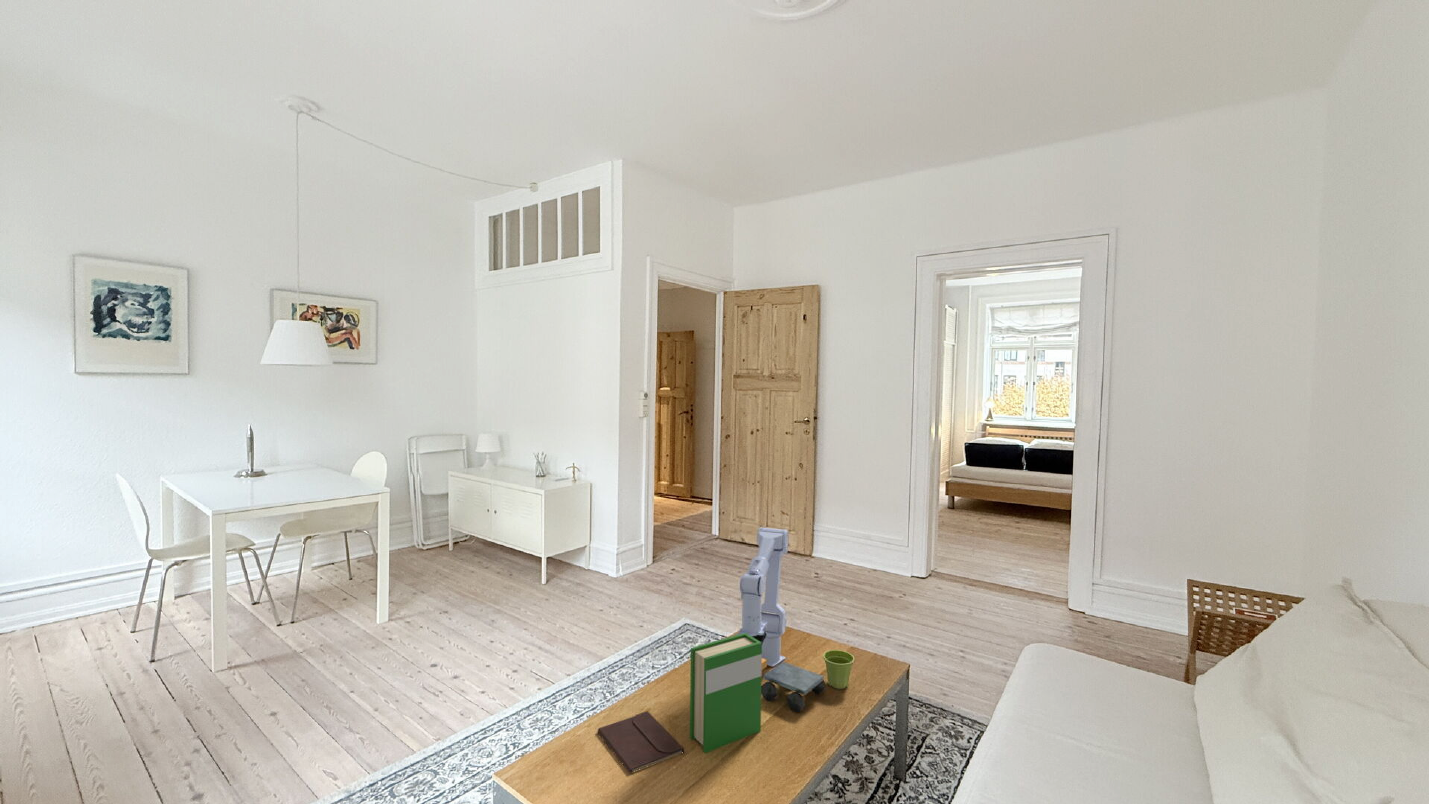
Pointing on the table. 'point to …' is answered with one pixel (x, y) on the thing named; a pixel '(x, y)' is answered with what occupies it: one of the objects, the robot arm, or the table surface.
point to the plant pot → (838, 667)
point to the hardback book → (725, 691)
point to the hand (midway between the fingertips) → (751, 659)
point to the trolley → (792, 684)
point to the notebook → (640, 741)
